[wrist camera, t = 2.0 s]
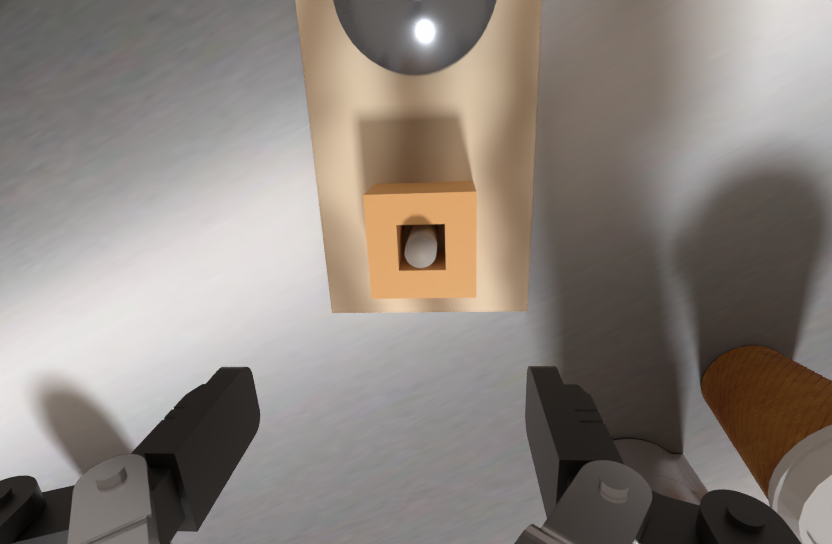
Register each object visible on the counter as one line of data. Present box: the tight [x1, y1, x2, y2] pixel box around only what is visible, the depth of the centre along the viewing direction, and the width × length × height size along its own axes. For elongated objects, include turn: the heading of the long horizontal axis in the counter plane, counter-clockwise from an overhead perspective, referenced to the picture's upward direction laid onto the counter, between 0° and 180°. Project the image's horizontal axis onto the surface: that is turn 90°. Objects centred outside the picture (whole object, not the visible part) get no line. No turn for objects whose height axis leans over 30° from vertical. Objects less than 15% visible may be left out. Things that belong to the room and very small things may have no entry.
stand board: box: [295, 0, 542, 313], centre depth 26 cm, size 14×26×7 cm, turn 2°
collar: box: [363, 181, 477, 299], centre depth 28 cm, size 6×6×4 cm
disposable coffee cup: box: [701, 345, 832, 544], centre depth 28 cm, size 10×10×12 cm
